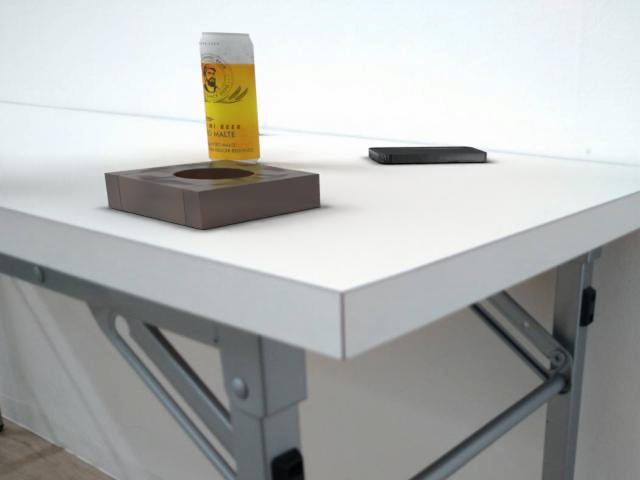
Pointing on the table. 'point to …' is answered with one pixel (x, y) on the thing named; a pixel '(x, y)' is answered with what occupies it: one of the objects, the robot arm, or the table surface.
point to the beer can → (230, 96)
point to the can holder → (212, 192)
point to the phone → (427, 154)
